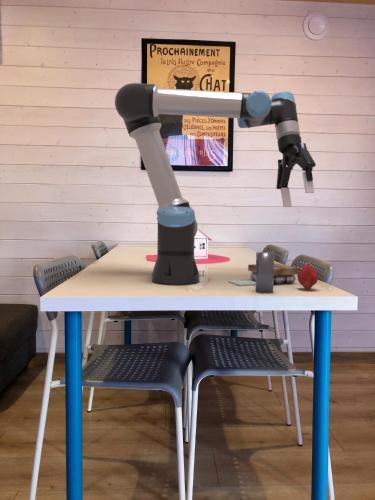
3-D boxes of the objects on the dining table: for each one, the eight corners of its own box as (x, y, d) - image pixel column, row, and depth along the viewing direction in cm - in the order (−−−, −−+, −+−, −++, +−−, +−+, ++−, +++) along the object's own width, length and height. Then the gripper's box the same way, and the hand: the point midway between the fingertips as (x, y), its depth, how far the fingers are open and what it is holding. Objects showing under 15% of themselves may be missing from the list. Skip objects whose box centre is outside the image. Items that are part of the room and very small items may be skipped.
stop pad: (239, 286, 137) (239, 284, 137) (228, 282, 144) (228, 280, 144) (259, 284, 140) (259, 283, 140) (247, 281, 147) (247, 279, 146)
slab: (268, 275, 138) (268, 269, 138) (248, 270, 149) (248, 264, 149) (298, 274, 142) (298, 267, 142) (276, 269, 153) (276, 263, 153)
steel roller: (261, 293, 125) (262, 254, 124) (251, 290, 130) (252, 252, 129) (276, 292, 127) (278, 253, 126) (266, 289, 132) (268, 251, 131)
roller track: (265, 285, 140) (265, 275, 140) (250, 280, 148) (250, 271, 148) (295, 283, 144) (295, 273, 144) (278, 279, 152) (279, 270, 152)
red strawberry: (292, 288, 134) (293, 261, 133) (307, 287, 137) (308, 260, 136) (307, 292, 129) (308, 264, 128) (321, 290, 132) (323, 263, 131)
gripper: (320, 119, 138) (331, 185, 134) (280, 154, 162) (289, 212, 157) (298, 118, 136) (309, 185, 132) (261, 153, 159) (269, 212, 155)
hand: (298, 200), depth 144 cm, fingers open, 13 cm apart
